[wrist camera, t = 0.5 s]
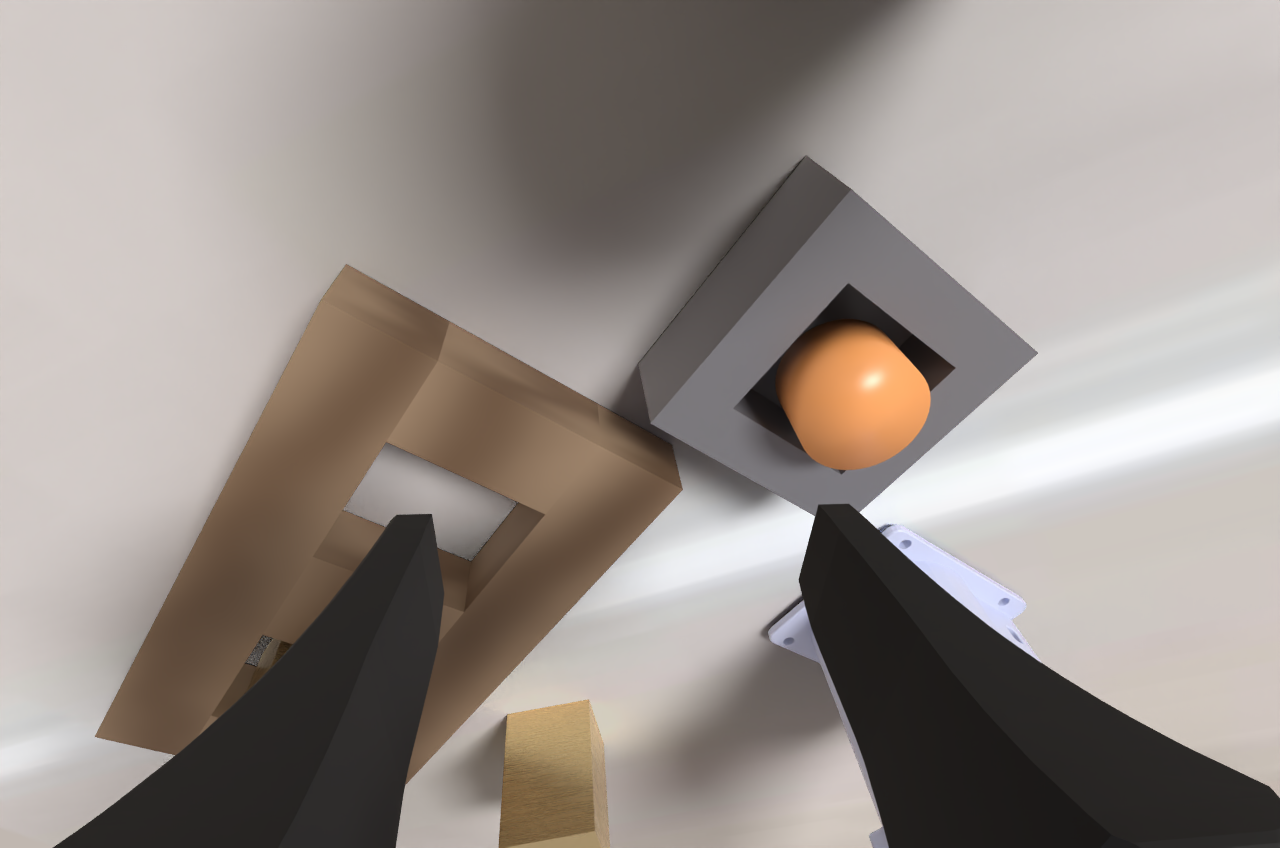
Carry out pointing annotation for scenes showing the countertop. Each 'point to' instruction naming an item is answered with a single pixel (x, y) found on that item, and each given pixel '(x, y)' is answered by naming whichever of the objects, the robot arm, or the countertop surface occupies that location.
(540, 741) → the loose billet
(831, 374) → the button
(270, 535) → the wooden socket board
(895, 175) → the countertop surface
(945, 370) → the button housing
